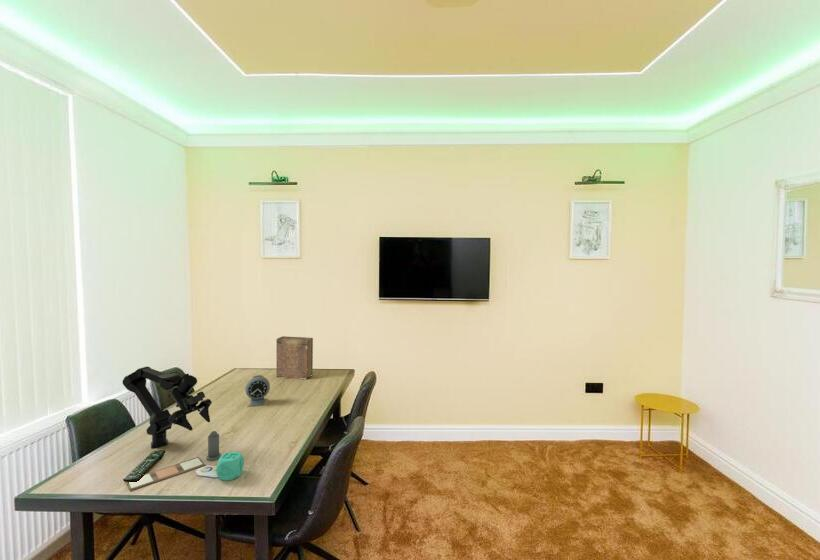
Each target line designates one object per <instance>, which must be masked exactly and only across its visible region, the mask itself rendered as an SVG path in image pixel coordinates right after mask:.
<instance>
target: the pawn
mask: <svg viewBox="0 0 820 560" xmlns="http://www.w3.org/2000/svg"><path fill="white" fill-rule="evenodd" d="M207 445H208V446H207V455H206V461H208V462H213V461H217V460H219V458H220V457H221V456H222V454H221V452H220V433H218V432H217V431H216V430H213V431H211V432H210V433H209V435H208V436H207Z"/></svg>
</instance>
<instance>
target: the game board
mask: <svg viewBox="0 0 820 560" xmlns="http://www.w3.org/2000/svg"><path fill="white" fill-rule="evenodd" d="M204 466H206V464H205V463H204V461H203V460H202V459H201V458H200V457H199V456H196V457H193V458H190V459H187V460H185V461H181V462H178V463H175V464H172V465H169V466H166V467H163V468H159V469H157V470H152V471H150V472H148V473H145V475H144V474H143V475H144V476H143V477H142V478H141V479H140V480H139V481H137V482H129V483H128V482H126V481H125V484H126V483H127V484H126V485H127V487H128V491H129V492H132V491H135V490H138V489H140V488H143V486H144V487H147V486H149V484H150V485H153V484H155V482H156V483H158V481H159V482H161V480H162V481H164V480H167V479H169V477H170V478H173V477H177V476H178V475H182V474H185V473H188V472H191V471H193V470H196V468H197V469H200V468H201V467H204ZM152 483H153V484H152ZM146 485H147V486H146ZM137 488H138V489H137ZM131 490H132V491H131Z"/></svg>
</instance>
